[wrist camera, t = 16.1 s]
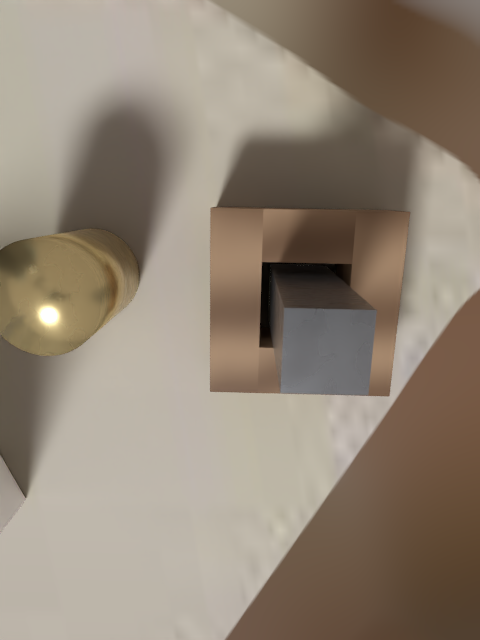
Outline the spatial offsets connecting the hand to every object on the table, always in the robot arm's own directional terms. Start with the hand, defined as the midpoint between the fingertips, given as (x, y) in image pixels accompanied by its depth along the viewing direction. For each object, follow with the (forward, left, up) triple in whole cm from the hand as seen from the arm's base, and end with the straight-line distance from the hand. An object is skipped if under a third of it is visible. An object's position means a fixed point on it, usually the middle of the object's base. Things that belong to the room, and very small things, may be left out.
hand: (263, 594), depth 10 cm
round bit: (-3, -12, -25) cm, 28 cm away
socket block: (-2, +3, -25) cm, 25 cm away
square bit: (-2, +3, -25) cm, 25 cm away
